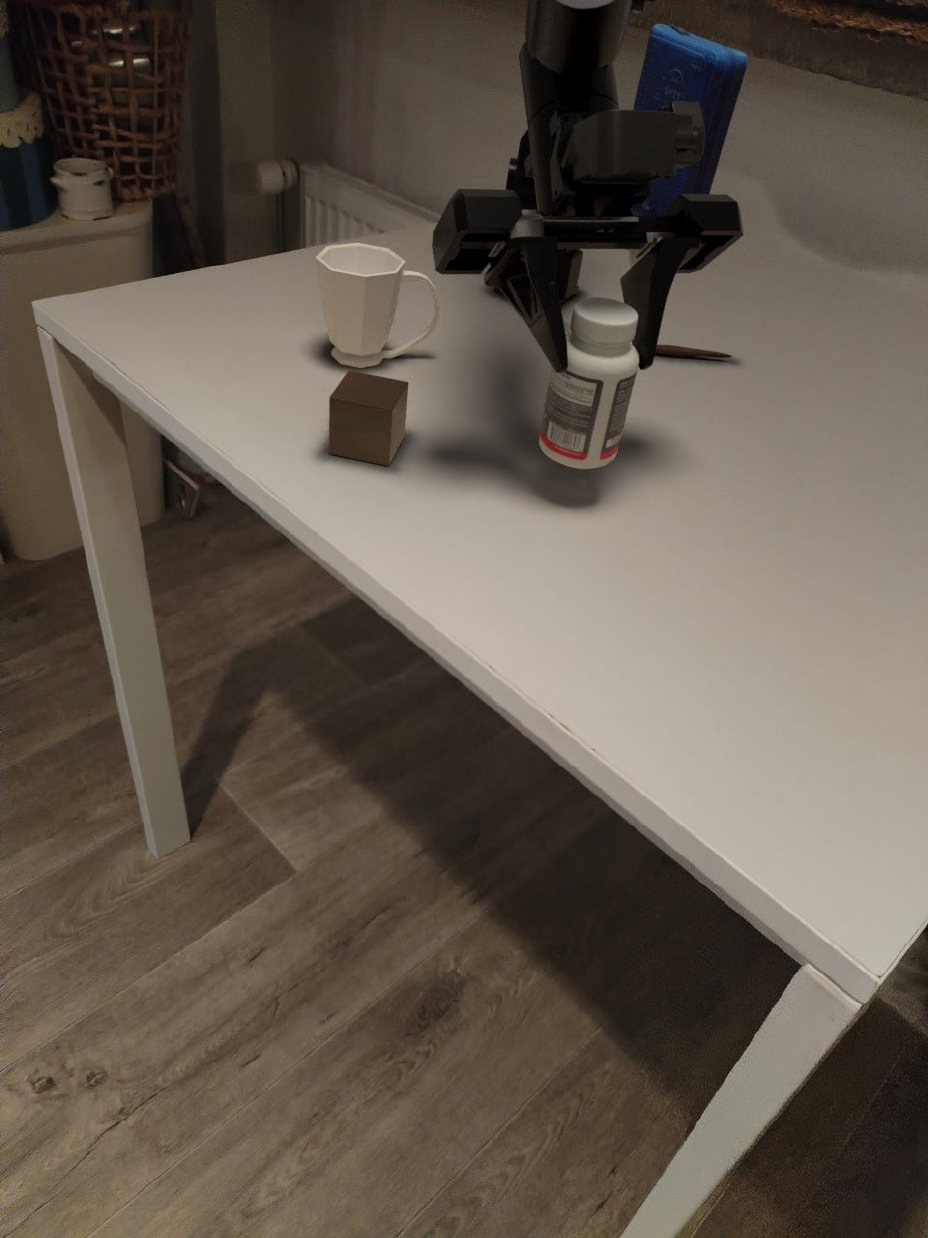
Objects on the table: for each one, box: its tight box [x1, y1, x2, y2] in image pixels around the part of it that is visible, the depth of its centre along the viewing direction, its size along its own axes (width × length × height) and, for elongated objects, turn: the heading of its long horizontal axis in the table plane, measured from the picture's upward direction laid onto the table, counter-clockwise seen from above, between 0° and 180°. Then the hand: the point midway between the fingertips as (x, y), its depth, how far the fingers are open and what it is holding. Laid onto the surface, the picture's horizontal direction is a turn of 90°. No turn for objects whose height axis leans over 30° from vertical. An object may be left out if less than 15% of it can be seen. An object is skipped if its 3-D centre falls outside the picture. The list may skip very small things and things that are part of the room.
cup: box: [315, 242, 440, 369], centre depth 73 cm, size 7×10×8 cm
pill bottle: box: [538, 297, 639, 470], centre depth 58 cm, size 5×5×10 cm
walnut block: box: [328, 369, 409, 467], centre depth 63 cm, size 4×4×4 cm
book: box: [632, 23, 749, 216], centre depth 104 cm, size 14×5×20 cm, turn 23°
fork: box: [563, 317, 732, 359], centre depth 82 cm, size 3×16×2 cm, turn 89°
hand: (604, 369), depth 56 cm, fingers closed on pill bottle, 5 cm apart
